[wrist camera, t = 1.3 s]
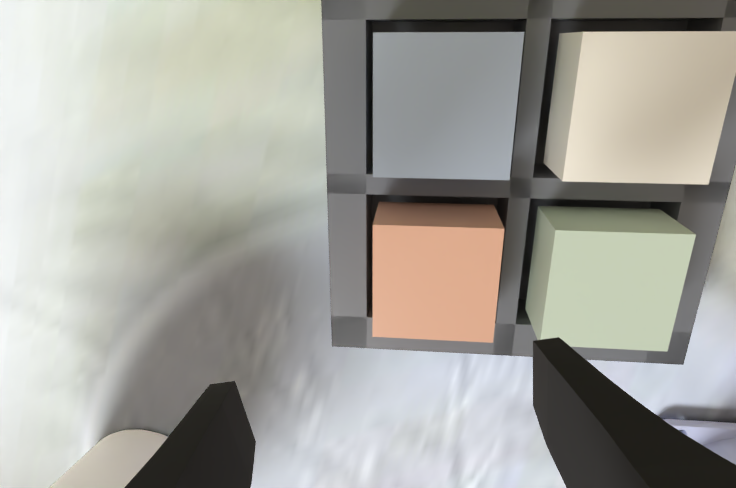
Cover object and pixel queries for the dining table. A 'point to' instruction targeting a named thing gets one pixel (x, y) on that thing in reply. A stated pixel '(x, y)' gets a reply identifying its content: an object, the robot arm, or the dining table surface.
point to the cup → (112, 460)
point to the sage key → (607, 276)
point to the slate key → (445, 104)
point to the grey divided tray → (528, 172)
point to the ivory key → (639, 105)
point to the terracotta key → (436, 271)
